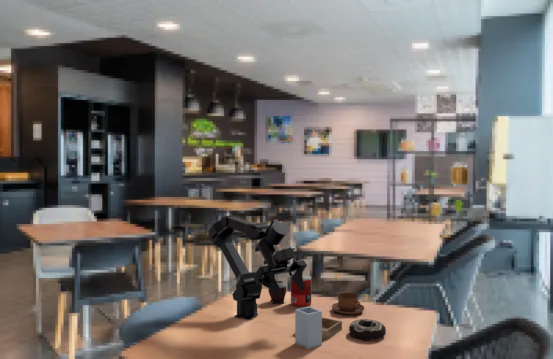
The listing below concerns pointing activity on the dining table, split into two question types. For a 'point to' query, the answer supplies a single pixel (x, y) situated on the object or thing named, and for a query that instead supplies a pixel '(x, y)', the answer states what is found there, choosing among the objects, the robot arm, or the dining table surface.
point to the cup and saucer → (348, 304)
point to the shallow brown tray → (330, 327)
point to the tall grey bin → (308, 327)
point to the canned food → (301, 293)
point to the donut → (367, 329)
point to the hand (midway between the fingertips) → (292, 292)
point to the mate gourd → (275, 297)
